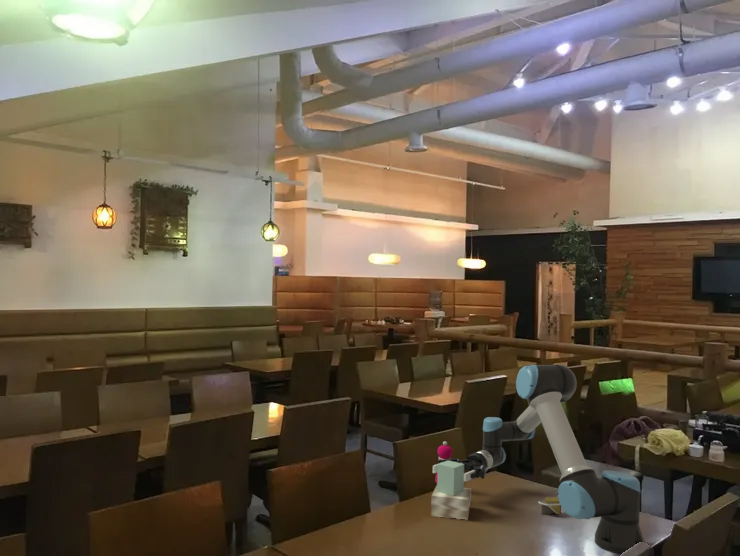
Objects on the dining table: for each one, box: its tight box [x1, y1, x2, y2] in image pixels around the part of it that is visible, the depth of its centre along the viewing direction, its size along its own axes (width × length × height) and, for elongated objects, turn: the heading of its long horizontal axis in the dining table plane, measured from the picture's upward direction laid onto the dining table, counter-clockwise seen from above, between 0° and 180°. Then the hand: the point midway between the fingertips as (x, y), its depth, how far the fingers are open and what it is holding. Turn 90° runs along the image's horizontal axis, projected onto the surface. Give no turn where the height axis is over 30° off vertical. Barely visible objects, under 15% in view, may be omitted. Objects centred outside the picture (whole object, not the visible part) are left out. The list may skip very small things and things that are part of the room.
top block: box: [430, 484, 472, 511], centre depth 231 cm, size 13×13×4 cm
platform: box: [537, 496, 562, 516], centre depth 231 cm, size 12×18×7 cm, turn 103°
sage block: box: [436, 461, 465, 496], centre depth 231 cm, size 7×7×10 cm
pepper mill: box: [434, 441, 453, 484], centre depth 254 cm, size 7×7×20 cm
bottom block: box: [430, 505, 470, 521], centre depth 231 cm, size 13×13×4 cm
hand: (448, 473), depth 230 cm, fingers open, 13 cm apart
